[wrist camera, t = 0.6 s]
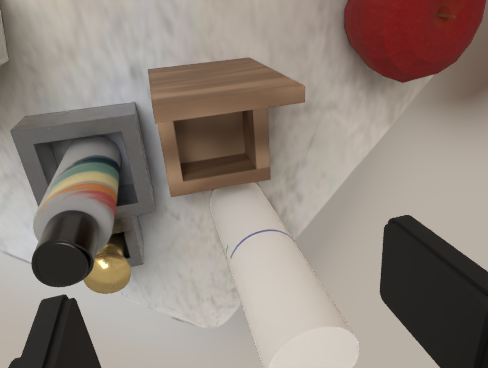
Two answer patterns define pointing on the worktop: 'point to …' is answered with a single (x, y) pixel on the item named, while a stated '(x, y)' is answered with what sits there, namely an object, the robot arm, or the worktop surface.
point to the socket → (81, 125)
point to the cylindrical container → (278, 286)
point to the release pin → (109, 268)
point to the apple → (411, 34)
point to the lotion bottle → (77, 212)
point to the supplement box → (2, 44)
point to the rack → (217, 121)
